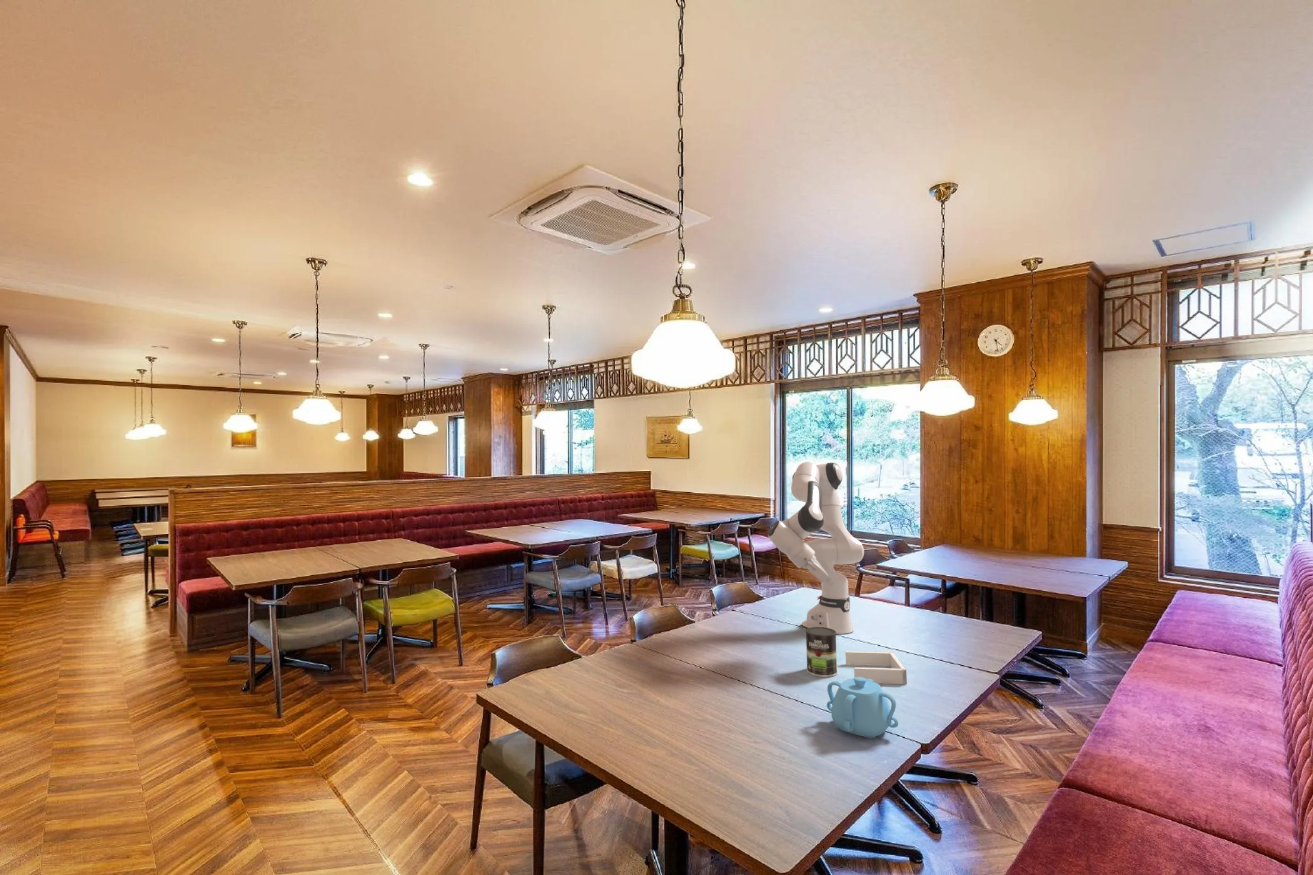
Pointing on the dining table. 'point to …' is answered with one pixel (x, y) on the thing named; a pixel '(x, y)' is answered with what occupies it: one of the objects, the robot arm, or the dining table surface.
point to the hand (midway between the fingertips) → (831, 583)
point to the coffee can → (821, 651)
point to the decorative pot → (861, 707)
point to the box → (877, 659)
